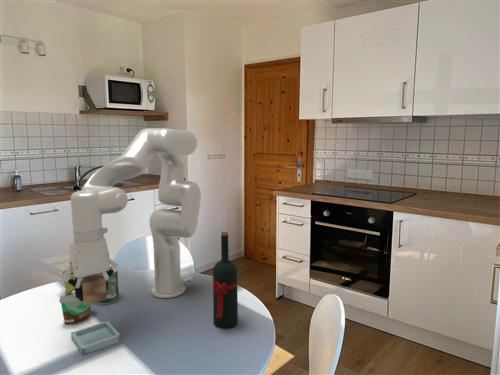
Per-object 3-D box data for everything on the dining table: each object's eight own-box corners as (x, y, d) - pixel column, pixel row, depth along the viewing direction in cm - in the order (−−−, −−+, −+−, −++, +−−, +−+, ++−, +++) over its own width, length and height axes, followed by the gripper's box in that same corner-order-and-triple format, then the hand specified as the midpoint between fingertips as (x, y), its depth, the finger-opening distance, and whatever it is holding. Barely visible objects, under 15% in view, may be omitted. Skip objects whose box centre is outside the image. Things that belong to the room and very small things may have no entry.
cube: (99, 292, 113) (98, 273, 112) (107, 299, 109) (105, 279, 108) (78, 298, 109) (77, 278, 109) (85, 305, 105) (83, 285, 104)
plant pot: (81, 285, 149) (79, 264, 148) (95, 291, 144) (93, 269, 142) (57, 294, 142) (55, 271, 140) (71, 300, 136) (69, 277, 135)
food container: (79, 328, 118) (76, 298, 116) (61, 326, 119) (58, 296, 117) (102, 310, 130) (100, 282, 128) (85, 308, 131) (83, 280, 129)
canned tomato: (90, 302, 135) (88, 273, 133) (106, 293, 142) (104, 265, 140) (109, 306, 132) (107, 276, 130) (123, 296, 139) (122, 268, 138)
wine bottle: (206, 330, 116) (204, 236, 111) (218, 315, 126) (216, 227, 121) (231, 334, 114) (230, 238, 109) (241, 318, 124) (240, 228, 119)
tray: (107, 326, 119) (107, 320, 118) (120, 341, 111) (120, 335, 110) (71, 338, 112) (71, 332, 112) (82, 355, 104) (82, 348, 104)
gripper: (114, 227, 114) (117, 284, 117) (50, 237, 104) (56, 300, 106) (123, 232, 109) (126, 292, 112) (58, 244, 98) (63, 310, 101)
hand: (92, 295), depth 109 cm, fingers closed on cube, 6 cm apart
